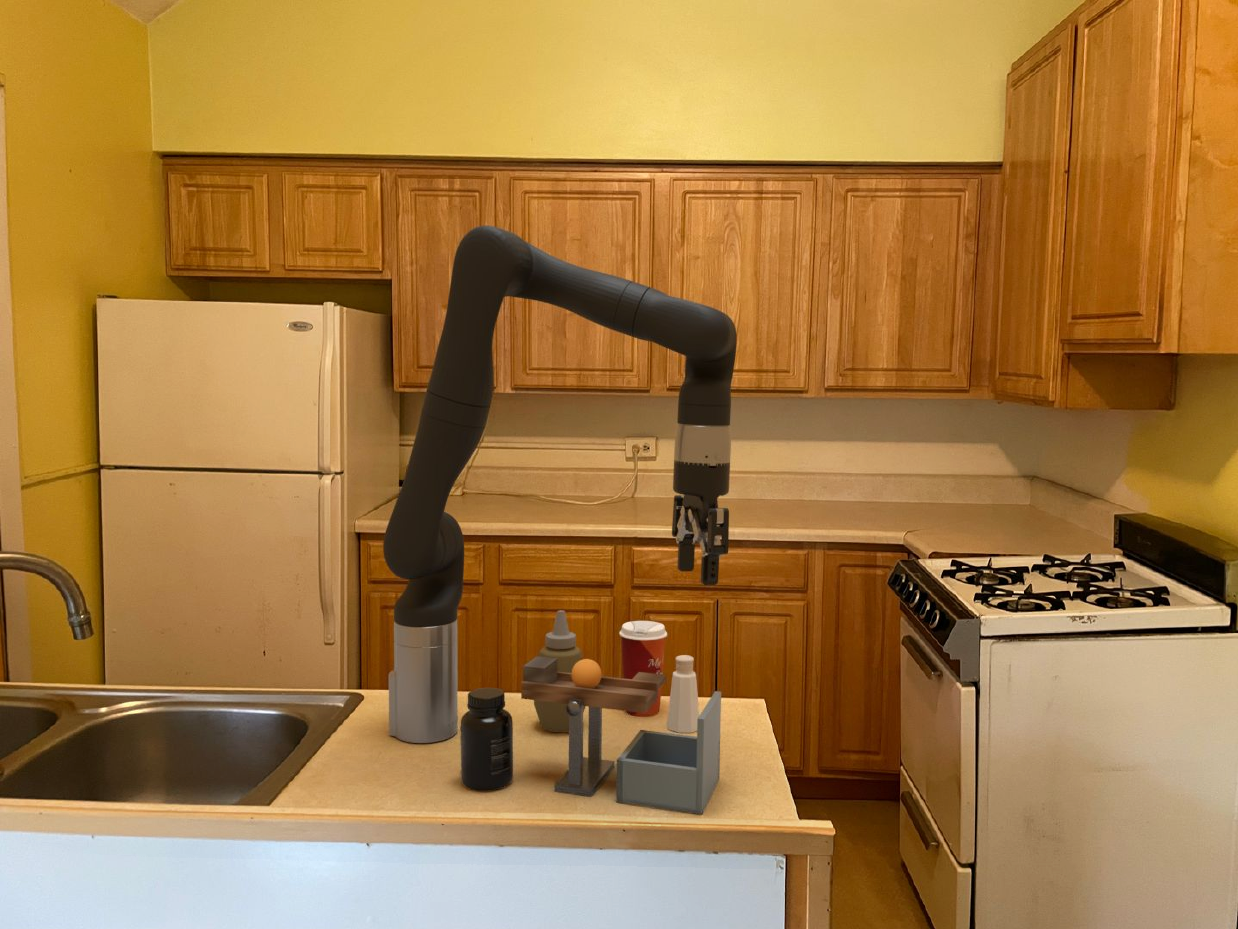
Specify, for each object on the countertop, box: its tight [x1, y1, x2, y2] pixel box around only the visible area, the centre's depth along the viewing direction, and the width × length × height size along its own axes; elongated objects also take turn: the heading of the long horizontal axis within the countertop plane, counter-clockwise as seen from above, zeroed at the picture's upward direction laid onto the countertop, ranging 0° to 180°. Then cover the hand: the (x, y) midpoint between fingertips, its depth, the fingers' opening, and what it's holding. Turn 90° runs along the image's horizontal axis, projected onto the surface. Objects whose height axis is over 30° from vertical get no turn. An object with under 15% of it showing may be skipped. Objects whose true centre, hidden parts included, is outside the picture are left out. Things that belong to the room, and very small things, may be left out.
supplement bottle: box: [459, 687, 514, 792], centre depth 124 cm, size 7×7×12 cm
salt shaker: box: [666, 654, 700, 734], centre depth 145 cm, size 5×5×11 cm
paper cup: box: [619, 620, 668, 718], centre depth 152 cm, size 8×8×14 cm
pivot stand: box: [553, 698, 615, 798], centre depth 125 cm, size 5×10×12 cm, turn 163°
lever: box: [520, 655, 667, 713], centre depth 128 cm, size 17×13×4 cm
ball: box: [571, 658, 603, 689], centre depth 125 cm, size 4×4×4 cm
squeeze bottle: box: [533, 609, 587, 733], centre depth 144 cm, size 8×8×18 cm
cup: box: [615, 690, 722, 816], centre depth 122 cm, size 11×11×12 cm
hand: (697, 577), depth 128 cm, fingers open, 8 cm apart
